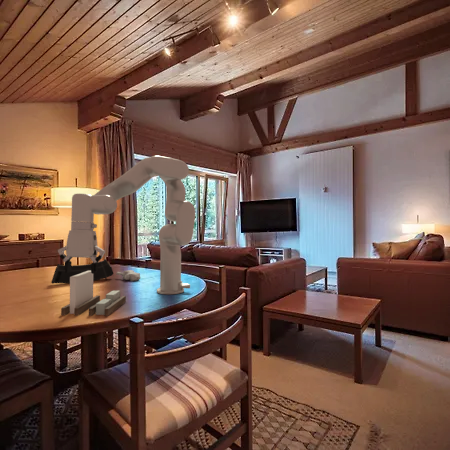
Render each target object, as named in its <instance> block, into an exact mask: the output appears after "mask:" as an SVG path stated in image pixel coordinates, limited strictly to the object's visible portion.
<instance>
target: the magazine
mask: <svg viewBox="0 0 450 450" xmlns="http://www.w3.org/2000/svg"><path fill="white" fill-rule="evenodd" d="M91 264H92V263H87V264H80V265H79V264H77V265H76V264H73V265H71V272H68V273H65V269H64V267H65V264H59V263H58V264H57V265H56V266H55V267H56V268H55V270H54V272H53V275H52V279H51V281H50V283H51V284H52V285H53V284H70V277H71V276H74V275H77V274H80V273H83V272H86V271H91ZM112 276H114V270H113V267H112V266H111V264H110V262H109V261H108V260H107V258H106V259H104V260H100V261H99V262H98V270H97V272H96V273H94V274H93V282H95V281H99V280H104V279H105V280H108V279H107V278H110V277H112Z"/></svg>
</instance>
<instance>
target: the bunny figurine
mask: <svg viewBox="0 0 450 450" xmlns="http://www.w3.org/2000/svg"><path fill="white" fill-rule="evenodd" d="M115 274H116V275H121V276H122V279H123V280H125V281H130V282H135V281H139V280H141V274H140V273H139V272H136V271H135V270H133V269H130V270H123V272H120V271H117V272H116V273H115Z"/></svg>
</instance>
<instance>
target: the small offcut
mask: <svg viewBox="0 0 450 450" xmlns="http://www.w3.org/2000/svg"><path fill="white" fill-rule="evenodd" d="M109 305H111V299H105V298H103V299H100V301H99V302H98V303H96V313H95V315H97V316H99V315H101V316H102V315H103V316H105V308H107V307H108V306H109Z"/></svg>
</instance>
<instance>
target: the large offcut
mask: <svg viewBox="0 0 450 450" xmlns="http://www.w3.org/2000/svg"><path fill="white" fill-rule="evenodd" d="M105 298H106V299H111V304H112V303H114V302H115V301H116V300H118V299H119V298H121V290H111V291H110V292H108V293H106V294H105Z"/></svg>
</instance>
